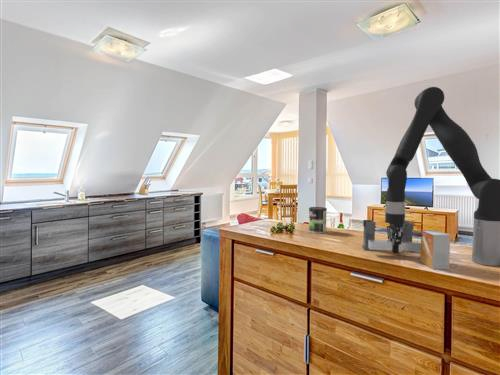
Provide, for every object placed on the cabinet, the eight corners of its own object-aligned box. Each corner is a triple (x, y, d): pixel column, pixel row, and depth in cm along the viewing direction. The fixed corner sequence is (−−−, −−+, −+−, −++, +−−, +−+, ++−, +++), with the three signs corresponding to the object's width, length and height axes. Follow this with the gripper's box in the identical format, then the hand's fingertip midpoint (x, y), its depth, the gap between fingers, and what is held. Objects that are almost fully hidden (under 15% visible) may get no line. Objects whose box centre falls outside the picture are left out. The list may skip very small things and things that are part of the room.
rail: (417, 249, 126) (417, 241, 126) (420, 251, 122) (421, 243, 122) (368, 247, 129) (368, 239, 129) (370, 249, 126) (370, 241, 125)
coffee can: (315, 233, 169) (316, 209, 168) (305, 230, 178) (305, 207, 177) (330, 232, 173) (330, 208, 172) (319, 229, 182) (319, 206, 181)
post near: (408, 248, 137) (409, 220, 136) (413, 252, 131) (414, 223, 130) (397, 248, 138) (398, 220, 137) (401, 251, 132) (402, 222, 131)
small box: (419, 262, 117) (420, 230, 116) (435, 262, 117) (437, 230, 116) (432, 269, 109) (433, 234, 108) (449, 269, 109) (450, 234, 108)
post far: (372, 247, 140) (373, 220, 139) (376, 250, 134) (376, 222, 133) (361, 246, 140) (362, 219, 140) (364, 250, 135) (365, 222, 134)
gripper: (410, 214, 117) (409, 257, 118) (398, 209, 131) (397, 247, 132) (390, 214, 118) (389, 256, 119) (381, 209, 132) (380, 247, 133)
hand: (393, 251), depth 126 cm, fingers closed on rail, 3 cm apart
